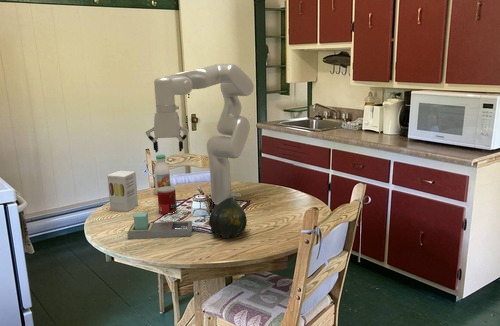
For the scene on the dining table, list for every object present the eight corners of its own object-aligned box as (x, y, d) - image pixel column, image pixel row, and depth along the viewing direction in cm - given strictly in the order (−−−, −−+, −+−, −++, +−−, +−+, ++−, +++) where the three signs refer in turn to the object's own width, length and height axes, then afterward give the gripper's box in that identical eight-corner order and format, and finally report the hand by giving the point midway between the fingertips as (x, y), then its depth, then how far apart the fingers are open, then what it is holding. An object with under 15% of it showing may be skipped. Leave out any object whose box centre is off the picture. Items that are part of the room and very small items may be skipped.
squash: (205, 230, 158) (231, 198, 158) (199, 218, 172) (222, 188, 172) (235, 251, 163) (259, 219, 163) (226, 237, 177) (249, 208, 177)
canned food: (173, 215, 190) (171, 191, 188) (156, 214, 192) (154, 190, 189) (179, 209, 198) (177, 186, 195) (162, 208, 199) (161, 185, 197)
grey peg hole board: (192, 226, 177) (192, 220, 176) (190, 236, 167) (190, 229, 166) (133, 229, 176) (132, 222, 175) (127, 239, 166) (127, 232, 165)
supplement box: (109, 210, 199) (106, 175, 195) (121, 204, 207) (118, 170, 203) (128, 212, 196) (124, 176, 192) (139, 205, 204) (135, 171, 200)
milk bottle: (153, 194, 220) (149, 156, 215) (160, 190, 227) (157, 153, 223) (166, 195, 218) (163, 157, 213) (173, 191, 225) (171, 153, 220)
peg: (149, 231, 173) (147, 212, 171) (147, 235, 169) (145, 216, 167) (137, 231, 173) (136, 212, 171) (135, 236, 169) (133, 216, 167)
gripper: (188, 107, 176) (190, 148, 180) (145, 108, 175) (148, 150, 179) (186, 109, 169) (189, 152, 173) (142, 111, 168) (145, 154, 172)
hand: (168, 151), depth 176 cm, fingers open, 9 cm apart
